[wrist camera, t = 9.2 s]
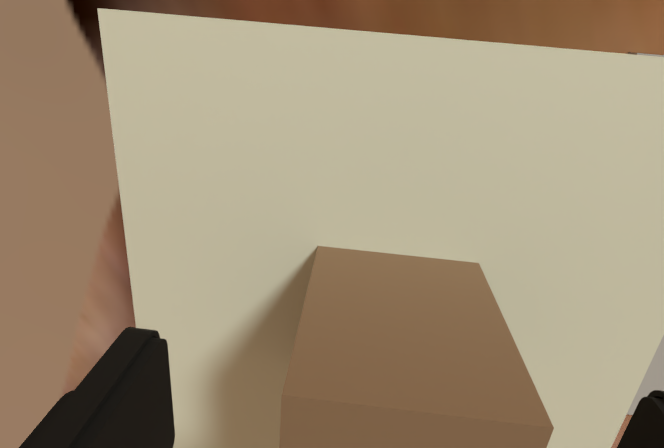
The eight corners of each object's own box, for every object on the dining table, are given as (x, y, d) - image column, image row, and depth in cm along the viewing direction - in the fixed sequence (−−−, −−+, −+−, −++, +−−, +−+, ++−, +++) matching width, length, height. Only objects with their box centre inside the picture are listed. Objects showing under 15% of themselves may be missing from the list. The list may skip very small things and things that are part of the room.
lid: (756, 64, 10) (1233, 111, 4) (565, 499, 15) (669, 750, 10) (117, 9, 10) (-161, -10, 5) (163, 447, 16) (58, 659, 11)
